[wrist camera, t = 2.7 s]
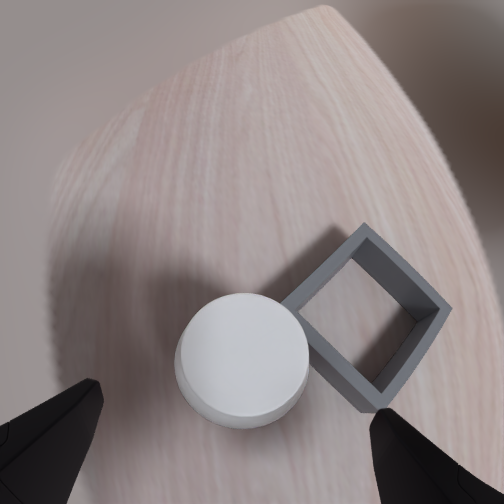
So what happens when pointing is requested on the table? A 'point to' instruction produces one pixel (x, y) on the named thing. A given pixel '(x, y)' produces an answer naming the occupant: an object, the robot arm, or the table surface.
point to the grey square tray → (402, 289)
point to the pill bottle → (242, 361)
